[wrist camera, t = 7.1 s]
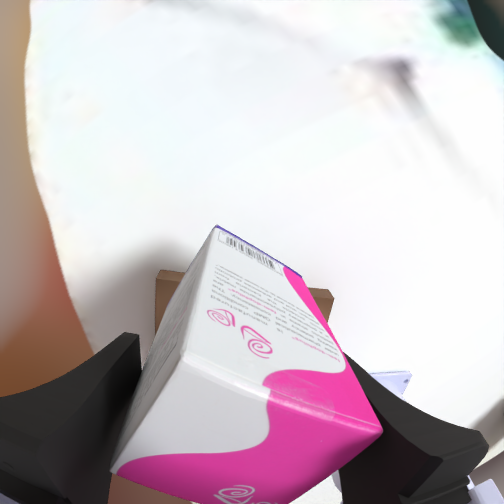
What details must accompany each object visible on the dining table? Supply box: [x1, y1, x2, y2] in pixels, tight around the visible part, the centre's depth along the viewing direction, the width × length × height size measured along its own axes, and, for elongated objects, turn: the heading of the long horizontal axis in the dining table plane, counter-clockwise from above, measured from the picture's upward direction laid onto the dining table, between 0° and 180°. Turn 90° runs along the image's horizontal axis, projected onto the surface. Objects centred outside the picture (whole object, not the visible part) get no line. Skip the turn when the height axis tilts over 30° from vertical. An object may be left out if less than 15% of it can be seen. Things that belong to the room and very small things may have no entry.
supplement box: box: [109, 225, 383, 504], centre depth 12 cm, size 6×6×12 cm
